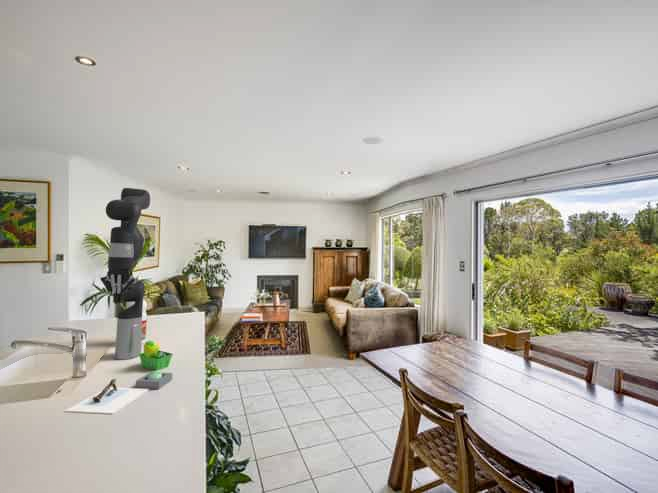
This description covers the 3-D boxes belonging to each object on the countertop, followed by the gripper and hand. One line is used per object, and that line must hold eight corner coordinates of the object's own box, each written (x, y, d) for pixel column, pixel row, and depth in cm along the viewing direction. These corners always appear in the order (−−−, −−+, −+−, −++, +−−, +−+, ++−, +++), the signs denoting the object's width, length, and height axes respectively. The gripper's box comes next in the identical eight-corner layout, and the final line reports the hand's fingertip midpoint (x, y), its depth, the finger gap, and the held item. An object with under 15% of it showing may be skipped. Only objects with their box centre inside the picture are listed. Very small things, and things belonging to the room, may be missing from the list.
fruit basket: (173, 366, 122) (174, 338, 122) (152, 373, 114) (154, 343, 114) (155, 361, 126) (156, 334, 127) (133, 368, 118) (135, 339, 119)
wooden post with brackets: (121, 387, 98) (117, 377, 96) (102, 408, 90) (97, 397, 89) (116, 387, 98) (112, 376, 96) (96, 408, 90) (92, 397, 89)
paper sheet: (108, 387, 100) (108, 386, 100) (148, 389, 100) (149, 388, 100) (64, 411, 84) (64, 410, 84) (112, 414, 84) (112, 412, 84)
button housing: (150, 378, 108) (150, 372, 108) (171, 379, 108) (172, 372, 108) (135, 388, 100) (135, 380, 100) (158, 389, 100) (159, 381, 100)
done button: (152, 380, 106) (152, 371, 107) (164, 380, 106) (164, 372, 106) (144, 385, 102) (144, 376, 102) (156, 386, 102) (157, 377, 102)
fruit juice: (121, 343, 150) (125, 288, 152) (142, 340, 157) (146, 287, 158) (125, 347, 144) (128, 289, 145) (147, 344, 150) (150, 288, 151)
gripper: (145, 256, 112) (142, 302, 112) (111, 255, 112) (107, 301, 112) (132, 256, 105) (128, 306, 104) (95, 255, 105) (91, 304, 104)
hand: (118, 303), depth 108 cm, fingers closed
